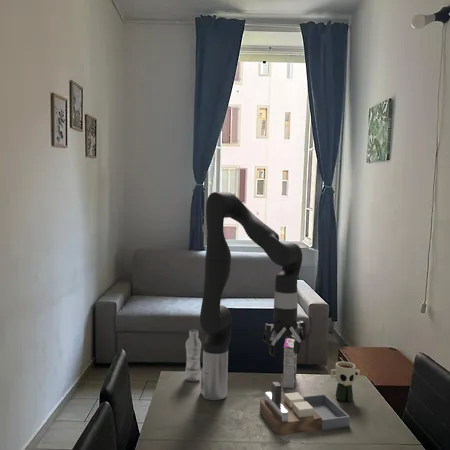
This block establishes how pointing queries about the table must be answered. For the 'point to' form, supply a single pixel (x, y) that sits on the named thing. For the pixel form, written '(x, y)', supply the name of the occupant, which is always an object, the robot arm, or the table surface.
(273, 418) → the walnut plate
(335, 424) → the box
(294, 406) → the cream tile
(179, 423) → the table surface
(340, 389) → the character mug
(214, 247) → the robot arm
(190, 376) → the plastic bottle
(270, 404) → the bar
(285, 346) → the candy bar box
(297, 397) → the cream tile
